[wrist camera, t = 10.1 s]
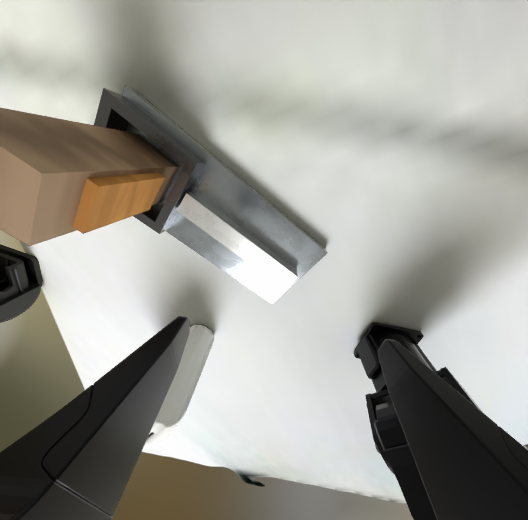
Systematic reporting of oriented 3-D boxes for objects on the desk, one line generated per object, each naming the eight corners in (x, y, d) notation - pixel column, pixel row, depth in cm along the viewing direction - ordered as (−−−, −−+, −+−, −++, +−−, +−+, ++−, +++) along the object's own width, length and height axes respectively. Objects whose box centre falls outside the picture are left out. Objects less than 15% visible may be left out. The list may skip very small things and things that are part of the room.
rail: (325, 248, 20) (331, 262, 18) (272, 298, 24) (271, 315, 22) (134, 89, 16) (103, 74, 13) (104, 181, 19) (75, 185, 17)
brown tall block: (185, 171, 17) (57, 184, 8) (166, 206, 19) (42, 253, 9) (138, 133, 16) (-81, 92, 6) (123, 173, 18) (-70, 188, 8)
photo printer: (183, 363, 32) (132, 467, 21) (161, 349, 31) (95, 452, 20) (220, 334, 28) (180, 445, 17) (196, 318, 27) (137, 425, 16)
